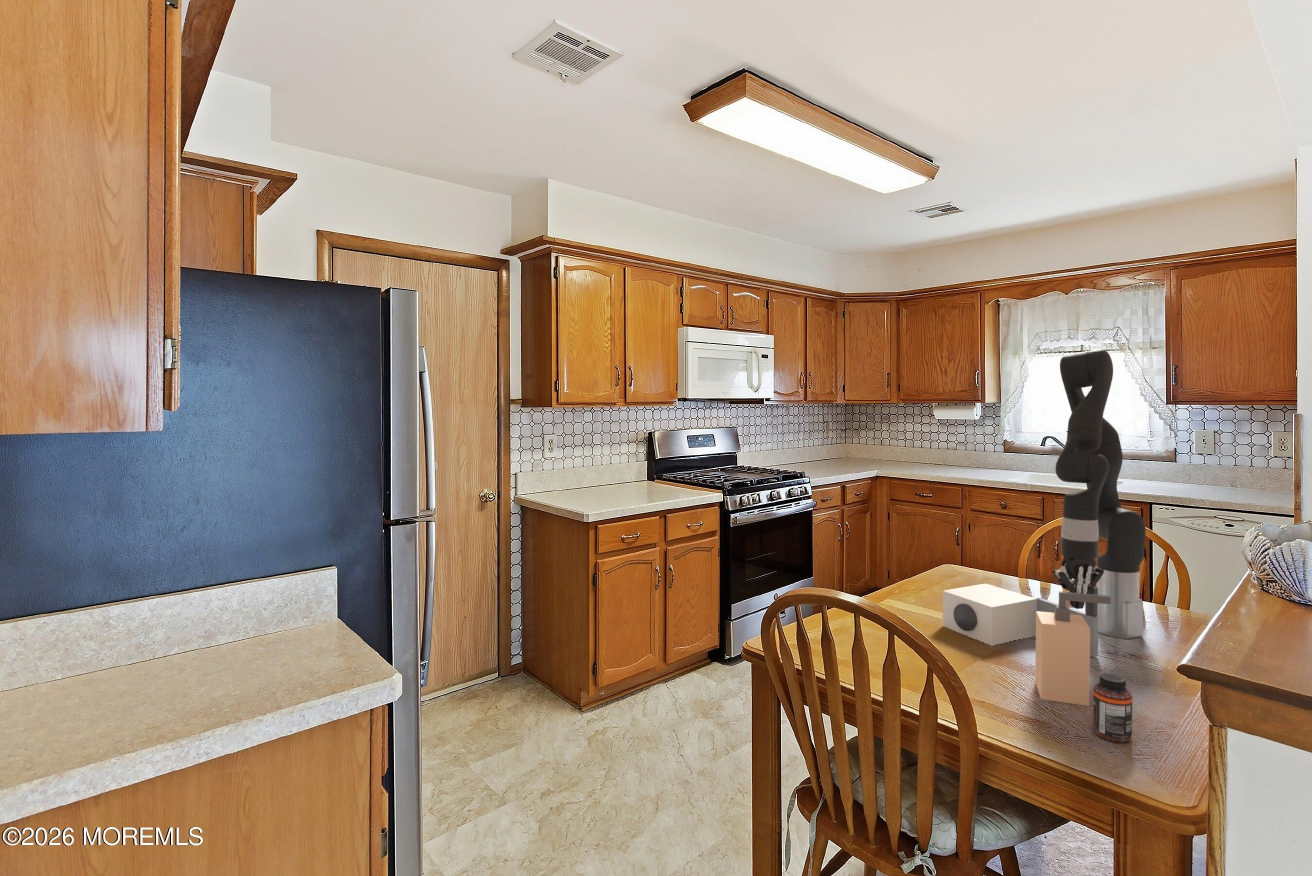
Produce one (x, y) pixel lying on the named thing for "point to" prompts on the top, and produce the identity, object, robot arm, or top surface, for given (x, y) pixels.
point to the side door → (1088, 616)
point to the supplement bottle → (1112, 708)
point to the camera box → (989, 613)
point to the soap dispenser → (1064, 651)
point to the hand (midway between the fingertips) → (1077, 607)
